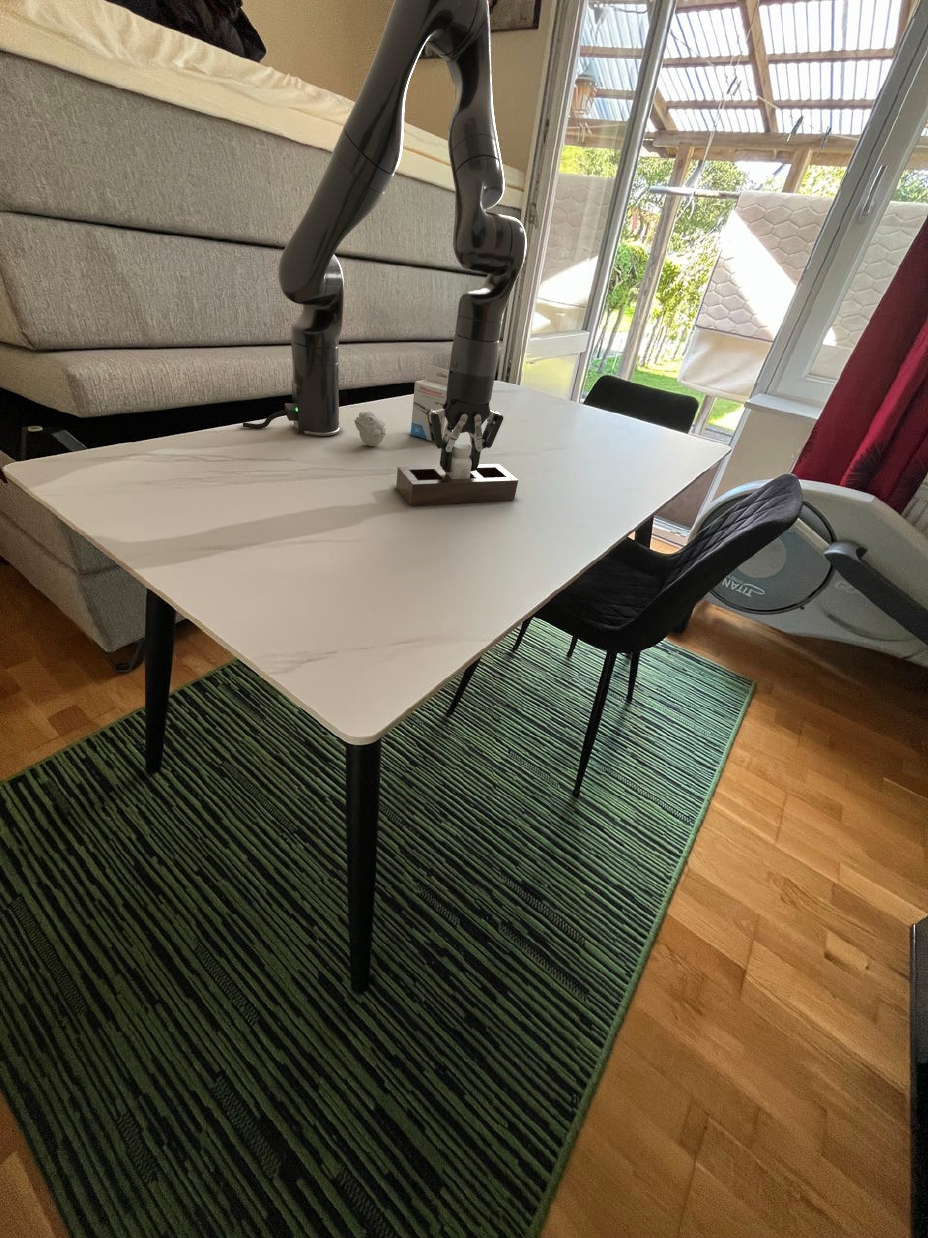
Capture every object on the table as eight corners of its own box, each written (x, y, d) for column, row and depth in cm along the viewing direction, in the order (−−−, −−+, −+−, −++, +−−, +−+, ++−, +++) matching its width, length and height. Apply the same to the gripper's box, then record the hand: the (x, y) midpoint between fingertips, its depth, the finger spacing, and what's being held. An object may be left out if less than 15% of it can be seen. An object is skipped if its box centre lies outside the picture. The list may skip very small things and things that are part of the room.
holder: (514, 500, 98) (518, 480, 95) (410, 506, 89) (412, 484, 87) (495, 483, 103) (498, 463, 101) (396, 487, 95) (397, 466, 92)
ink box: (409, 435, 120) (414, 366, 111) (419, 430, 124) (425, 363, 115) (442, 444, 118) (449, 375, 109) (451, 439, 121) (459, 372, 113)
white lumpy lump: (348, 442, 110) (348, 408, 106) (375, 439, 114) (376, 406, 110) (363, 452, 107) (364, 417, 103) (391, 448, 111) (393, 415, 107)
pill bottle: (468, 484, 97) (475, 443, 93) (466, 493, 94) (473, 451, 89) (445, 480, 97) (451, 439, 93) (442, 489, 94) (448, 447, 89)
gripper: (500, 365, 89) (484, 461, 99) (423, 359, 83) (414, 462, 93) (521, 376, 84) (502, 477, 94) (440, 371, 78) (429, 479, 88)
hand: (458, 469), depth 93 cm, fingers closed on pill bottle, 4 cm apart
